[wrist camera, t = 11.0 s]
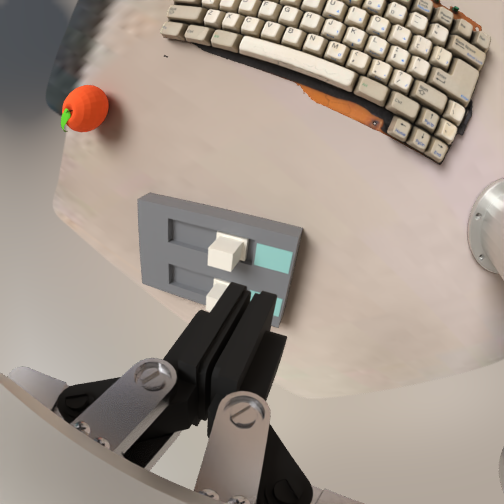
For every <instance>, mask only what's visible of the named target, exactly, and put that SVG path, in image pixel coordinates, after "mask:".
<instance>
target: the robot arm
mask: <svg viewBox="0 0 504 504" xmlns="http://www.w3.org/2000/svg"><path fill="white" fill-rule="evenodd" d="M477 213H478V214H477ZM476 214H477V215H476ZM467 234H468V242H469V246H470V249H471V251H472V253H473V256H474V257H475V259H476V260H477V262H478V263H479V264H480V265H481V266H482V267H483V268H484V269H486V270H488V271H490V272H493V273H496V274H500V276H501V277H502V279H503V281H504V178H503V179H499V180H497V181H495V182H493V183H492V184H490V185H489V186H488V187H487V188H486V189H484V191H483V192H482V193H481V194H480V195H479V197H478V198H477V200H476V202H475V203H474V205H473V208H472V210H471V213H470V217H469V221H468V231H467ZM250 299H251V291H248V290H247V286H245V285H242V284H238V283H235V282H231V283H230V284H229V285H228V287H227V288H226V290H225V291H224V293H223V294H222V296H221V297H220V298H219V300H218V301H217V303H216V304H215V306H214V307H213V309H212V310H211V312H210V313H209V312H206V311H203V310H200V311H198V313H197V314H196V315H195V316H194V318H193V319H192V320H191V322H190V323H189V325H188V326H187V327H186V329H185V330H184V331H183V333H182V334H181V336H180V337H179V338H178V340H177V341H176V342H175V344H174V345H173V346H172V348H171V349H170V351H169V352H168V353H167V355H166V356H165V357H164V359H163V360H162V359H158V358H148V359H144V360H141V361H139V362H137V363H136V364H135V365H134V366H132V367H131V368H130V369H129V370H128V371H127V372H126V373H125V374H124V375H123V376H122V377H119V378H114V379H107V380H102V381H96V382H90V383H84V384H78V385H73V386H68V385H67V384H66V382H64V381H61V380H58V379H56V378H53V377H50V376H48V375H45V374H43V373H40V372H38V371H36V370H33V369H31V368H29V367H24V366H21V367H17V368H15V369H13V370H12V371H11V372H10V373H9V375H8V376H7V377H6V376H5V375H3V374H2V373H0V504H364V503H361V502H358V501H356V500H352V499H350V498H347V497H345V496H342V495H339V494H337V493H335V492H332V491H330V490H327V489H324V490H322V489H319V488H317V487H314V486H312V485H311V484H310V482H309V481H308V479H307V478H306V476H305V475H304V473H303V472H302V471H301V469H300V468H299V466H298V465H297V463H296V462H295V461H294V459H293V458H292V456H291V455H290V453H289V452H288V451H287V449H286V447H285V446H284V444H283V443H282V442H281V440H280V438H279V437H278V435H277V434H276V432H275V431H274V430H273V428H272V426H271V425H270V408H269V406H268V404H267V402H266V400H267V397H268V394H269V392H270V389H271V386H272V383H273V381H274V378H275V375H276V372H277V369H278V366H279V363H280V360H281V357H282V354H283V350H284V347H285V343H286V339H287V336H284V335H280V334H277V333H273V332H270V328H271V323H272V319H273V314H274V310H275V305H276V300H277V295H276V294H273V293H269V292H266V291H261V293H260V294H258V293H255V294H254V296H253V297H252V299H251V301H250ZM207 418H208V429H207V436H208V438H209V441H208V444H207V448H206V451H205V454H204V458H203V461H202V465H201V468H200V471H199V475H198V478H197V481H196V485H195V489H194V491H192V490H190V489H187V488H185V487H183V486H180V485H178V484H176V483H173V482H171V481H169V480H167V479H164V478H162V477H160V476H158V475H156V474H154V473H152V472H150V469H151V468H152V467H153V466H154V465H155V464H156V462H157V461H158V460H159V459H160V458H161V457H162V455H163V454H164V453H165V452H166V450H167V449H168V448H169V447H170V446H171V445H172V443H173V442H174V441H175V440H176V439H177V437H178V436H179V435H180V433H181V431H182V430H185V429H189V428H190V426H191V424H193V425H195V426H198V424H199V422H200V420H201V419H202V420H204V421H206V420H207ZM499 478H500V483H501V487H502V489H503V492H504V448H503V450H502V453H501V456H500V461H499Z"/></svg>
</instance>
